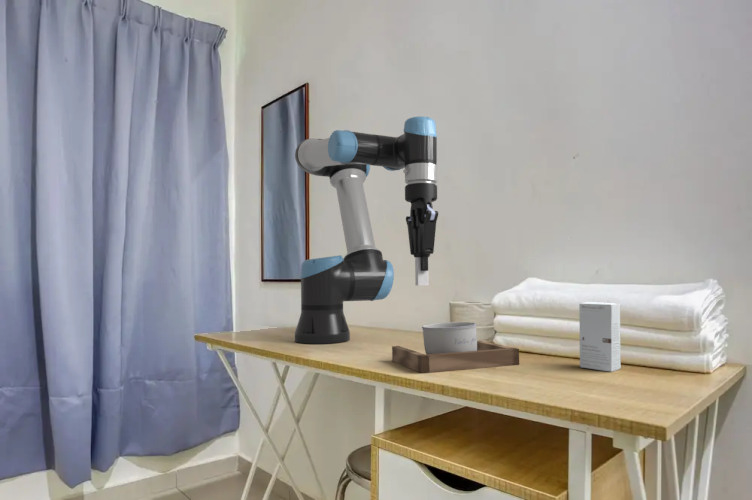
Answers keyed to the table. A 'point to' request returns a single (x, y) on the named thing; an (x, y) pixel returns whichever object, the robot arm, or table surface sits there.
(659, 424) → the table surface
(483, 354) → the brown wooden tray
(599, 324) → the skincare box
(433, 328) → the teacup
